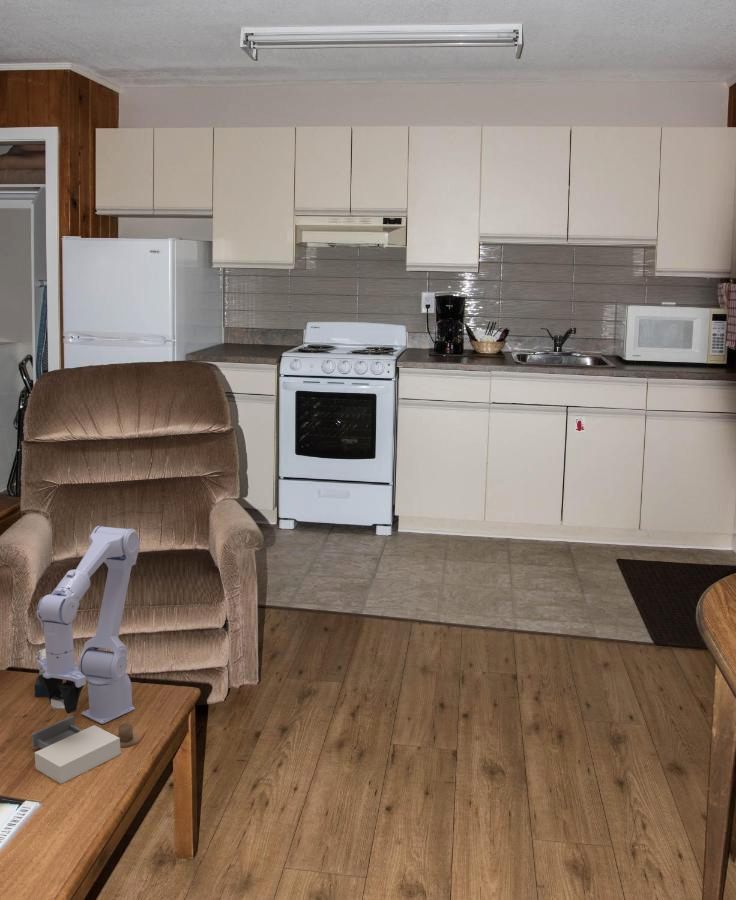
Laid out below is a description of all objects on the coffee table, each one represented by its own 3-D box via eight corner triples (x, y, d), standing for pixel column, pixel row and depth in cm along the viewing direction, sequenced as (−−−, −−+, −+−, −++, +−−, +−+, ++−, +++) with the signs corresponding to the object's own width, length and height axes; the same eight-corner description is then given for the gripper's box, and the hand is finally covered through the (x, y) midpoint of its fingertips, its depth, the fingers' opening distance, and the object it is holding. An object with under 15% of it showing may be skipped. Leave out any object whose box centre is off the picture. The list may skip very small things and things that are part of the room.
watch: (62, 684, 237) (59, 642, 235) (57, 698, 229) (54, 656, 227) (39, 685, 236) (36, 644, 234) (33, 700, 228) (30, 658, 226)
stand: (128, 732, 214) (127, 717, 213) (144, 740, 210) (143, 725, 210) (107, 742, 209) (107, 727, 209) (123, 750, 206) (123, 735, 205)
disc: (66, 696, 208) (65, 690, 208) (80, 703, 205) (79, 697, 205) (46, 705, 204) (45, 698, 204) (60, 711, 201) (59, 705, 201)
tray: (32, 747, 206) (31, 733, 205) (73, 728, 214) (72, 715, 213) (56, 760, 200) (55, 747, 200) (97, 740, 208) (96, 727, 208)
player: (35, 768, 199) (33, 752, 198) (94, 740, 210) (93, 724, 209) (61, 783, 193) (60, 766, 192) (120, 754, 205) (119, 737, 204)
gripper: (23, 646, 204) (27, 704, 206) (63, 664, 195) (67, 725, 198) (52, 636, 209) (56, 693, 212) (92, 653, 200) (96, 712, 203)
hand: (63, 707), depth 205 cm, fingers closed on disc, 5 cm apart
